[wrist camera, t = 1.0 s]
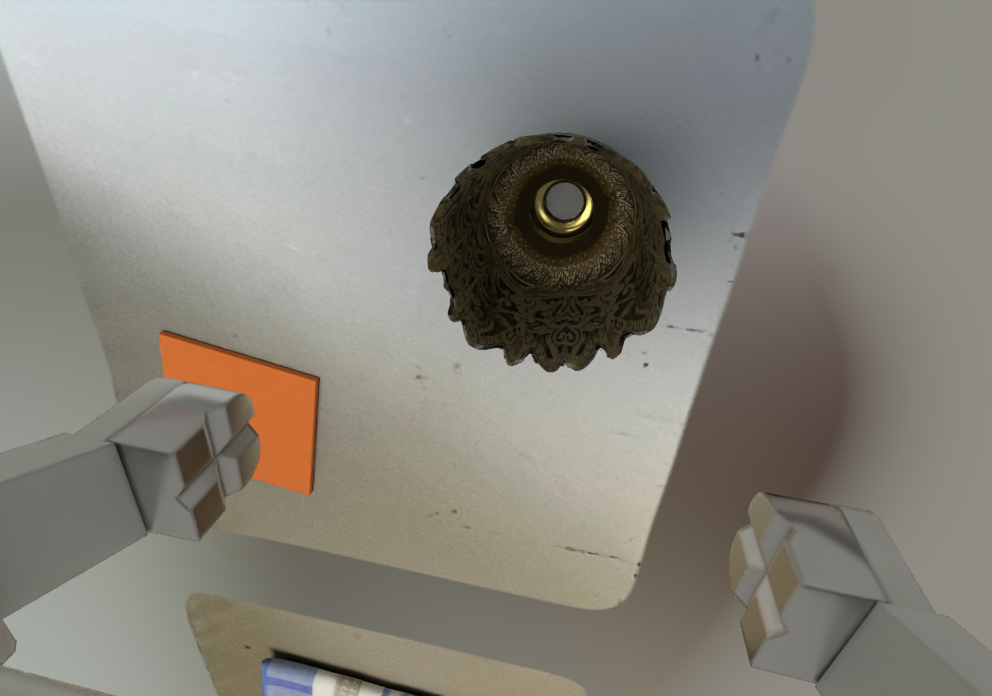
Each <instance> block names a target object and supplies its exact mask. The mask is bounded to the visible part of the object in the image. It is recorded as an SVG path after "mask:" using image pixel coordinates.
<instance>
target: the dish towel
mask: <svg viewBox="0 0 992 696" xmlns="http://www.w3.org/2000/svg"><path fill="white" fill-rule="evenodd" d="M261 669H262V680H263V696H416V695H413V694H409V693H405V692H401V691H396V690H393V689H389V688H386V687H382V686H378V685H375V684H372V683H368V682H365V681H363V680H359V679H355V678H352V677H349V676H346V675H341V674H336V673H332V672H329V671H325V670H322V669H320V668H316V667H312V666H308V665H305V664H301V663H297V662H293V661H288V660H284V659H277V658H267V659H265V660H263V661H262V662H261Z"/></svg>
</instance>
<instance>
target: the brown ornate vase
mask: <svg viewBox="0 0 992 696" xmlns="http://www.w3.org/2000/svg"><path fill="white" fill-rule="evenodd" d="M455 181H456V183H455V185H454V186H453V188H452V189H451V190H450V192H449V193H448V194H447V195H446V196H445V197H444V198H443V199H442V201H441V202H440V204H439V205H438V207H437V209H436V211H435V213H434V215H433V217H432V219H431V223H430V234H431V244H432V249H431V250H430V252H429V254H428V269H429V270H430V271H431V272H440V271H442V274H443V277H444V284H443V285H444V288H445V289H446V290H447V291H448V292H449V294H450V296H451V298H450V307H449V310H448V316H449V318H450V320H451V321H453V322H458V321H461V322H462V325H463V330H464V334H465V339H466V341H467V343H468V344H469V345H470V346H472V347H474V348H476V349H478V350H488V349H492V348H499V349H503V350H504V358H505V359H506V362H507V365H509V366H514V365H517V364H519V363H522V361H524V358H525V357H526V356H528V354H532V357H533V359H534V362H535V363H538V364H539V365H540V366H541V367H542V368H543V369H544V370H545V371H547V372H554V371H557V370H558V369H559V367H560V366H564V364H565V365H566V366H567V367H569V368H571V369H573V370H575V371H580V370H582V369H584V368H585V367H587V366H588V365H589V364H590V362H591V361H592V360H593V359H594V357H595V355H596V353H597V351H598V350H599V348H602V349H603V350H605V352H606V354H607V357H608V358H611V359H614V358H616V357H617V356H618V355H619V354H620V353H621V351H622V348H623V344H624V341H625V339H626V338H628V337H630V336H631V335H643V334H646V333H648V332H650V331H651V330H653V329H654V327H655V326H656V324H657V322H658V320H659V317H660V315H661V312H662V308H663V305H664V299H665V296H666V292H667V291H671V290H672V288H673V287H674V285H675V282H676V278H677V269H676V265H675V264H674V262H673V260H672V257H671V246H670V244H671V234H670V231H669V226H668V222H667V221H668V220H669V219H670V218H671V217H670V214H669V211H668V209H667V207H666V205H665V203H664V201H663V200H662V198H661V197H660V195H659V194H658V192H657V191H656V190H655V189H654V187H653V186H652V184H651V183H650V181H649V180H648V178H647V177H646V176H645V174H644V173H643V172H642V171H641V170H640V169H639V168H638V167H637V166H636V165H635V164H633V163H632V162H631V161H629V160H628V159H626V158H625V157H623V156H622V155H621V154H619V153H618V152H617V151H615V150H614V149H612V148H611V147H609V146H607V145H606V144H604V143H601V142H599V141H597V140H595V139H592V138H589V137H586V136H582V135H577V134H572V133H547V134H541V135H533V136H524V137H519V138H516V139H515V140H514V141H509V142H506V143H504V144H502V145H500V146H498V147H496V148H494V149H492V150H491V151H489V152H488V153H486V154H484V155H483V156H482V157H481V159H480V160H479V161H477V162H475V163H474V164H470V165H469V166H468V167H467V168H465V169H464V170H463V171H462V172H461V173H460V174H459V175H458V176H457V177H456V178H455ZM559 183H571V184H573V185H575V186H576V187H578V188H579V189H580V191H581V192H582V195H583V198H584V205H583V208H582V211H581V212H580V214H579V215H578V216H577V217H575V218H574V219H572V220H569V221H559V220H557V219H555V218H553V217H552V216H551V215H550V214H549V213H548V211H547V209H546V205H545V199H546V195H547V193H548V191H549V190H550V189H551V188H552V187H553V186H555V185H557V184H559Z"/></svg>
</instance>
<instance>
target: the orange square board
mask: <svg viewBox="0 0 992 696" xmlns="http://www.w3.org/2000/svg"><path fill="white" fill-rule="evenodd" d="M159 341H160V348H161V356H162V363H163V370H164V377H168V378H172V379H177V380H182V381H186V382H194V383H198V384H203V385H207V386H212V387H217V388H221V389H226V390H231V391H235V392H240V393H244V394H245V395H247V396H249V397H250V398H251V399H252V403H253V408H254V412H255V415H254V416H253V417H252V419H251V420H250V421H249V424H250V425H251V426H252V428H253V429H254V430H255V431H256V432H257V433H258V435H259V439H260V445H261V449H260V460H259V462H258V465H257V467H256V469H255V472H254V474H253V476H252V478H255V479H258V480H261V481H264V482H268V483H271V484H274V485H277V486H280V487H284V488H287V489H290V490H293V491H296V492H299V493H303V494H306V495H310V494H311V492H312V485H313V468H314V451H315V434H316V417H317V400H318V383H319V378H317V377H314V376H311V375H307V374H304V373H301V372H297V371H294V370H291V369H287V368H284V367H281V366H278V365H274V364H271V363H268V362H264V361H261V360H258V359H254V358H251V357H248V356H245V355H241V354H238V353H235V352H231V351H228V350H225V349H222V348H218V347H215V346H212V345H208V344H205V343H202V342H198V341H195V340H192V339H189V338H185V337H182V336H179V335H175V334H172V333H169V332H165V331H162V332H161V333H159Z"/></svg>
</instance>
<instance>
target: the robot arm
mask: <svg viewBox="0 0 992 696" xmlns="http://www.w3.org/2000/svg"><path fill="white" fill-rule="evenodd" d="M254 415H255V412H254V408H253V403H252V399H251V398H250V397H249V396H247V395H245V394H244V393H240V392H235V391H231V390H226V389H221V388H217V387H212V386H207V385H203V384H198V383H194V382H186V381H182V380H177V379H172V378H168V377H159V378H153V379H151V380H149V381H148V382H147V383H145V384H144V385H142V386H141V387H140V388H138V389H137V390H135V391H134V392H133V393H131V394H130V395H128V396H127V397H126V398H124V399H123V400H121V401H120V402H119V403H117V404H116V405H114V406H113V407H112V408H110V409H109V410H107V411H106V412H105V413H104V414H102V415H100V416H99V417H98V418H96V419H95V420H93V421H92V422H91V423H89V424H88V425H86V426H85V427H84V428H82V429H81V430H80V431H78V432H77V433H75V434H74V435H73V434H68V433H62V434H59V435H56V436H53V437H50V438H47V439H44V440H40V441H37V442H34V443H31V444H28V445H24V446H22V447H18V448H15V449H12V450H9V451H5V452H3V453H0V696H114V695H111V694H107V693H103V692H100V691H96V690H92V689H89V688H85V687H81V686H77V685H74V684H70V683H66V682H62V681H59V680H54V679H51V678H47V677H44V676H40V675H36V674H32V673H29V672H25V671H21V670H17V669H14V668H10V667H6V666H3V664H4V663H5V662H6V661H7V660H8V658H10V656H12V655H13V653H14V652H15V650H16V642H17V641H16V640H15V638H14V637H13V635H12V634H11V632H10V630H9V629H8V627H7V626H6V624H5V623H4V621H3V620H2V619H3V618H5V617H7V616H8V615H10V614H12V613H14V612H16V611H17V610H19V609H21V608H22V607H24V606H26V605H28V604H29V603H31V602H33V601H34V600H36V599H38V598H40V597H41V596H43V595H45V594H46V593H48V592H50V591H52V590H53V589H55V588H57V587H58V586H60V585H62V584H64V583H66V582H67V581H69V580H71V579H72V578H74V577H76V576H78V575H79V574H81V573H83V572H84V571H86V570H88V569H90V568H91V567H93V566H95V565H97V564H98V563H100V562H102V561H103V560H105V559H107V558H109V557H110V556H112V555H114V554H116V553H117V552H119V551H121V550H122V549H124V548H126V547H127V546H129V545H131V544H133V543H135V542H136V541H138V540H140V539H141V538H143V537H145V536H147V534H148V533H147V532H151V533H156V534H161V535H167V536H172V537H177V538H182V539H187V540H192V541H197V542H199V541H200V539H201V538H202V537H203V536H204V535H205V533H206V532H207V531H208V530H209V529H210V527H211V526H212V525H213V524H214V523H215V522H216V520H217V519H218V518H219V517H220V516H221V514H222V513H223V512H224V511H225V510H226V506H225V497H227V496H229V495H231V494H233V493H235V492H238V491H240V490H242V489H243V488H244V487H245V485H246V484H247V483H248V481H249V480H250V479H251V478H252V476H253V474H254V472H255V469H256V467H257V465H258V462H259V460H260V449H261V445H260V439H259V435H258V433H257V432H256V431H255V430H254V429H253V428H252V426H251V425H250V424H249V421H250V420H251V419H252V417H253V416H254ZM748 512H749V516H750V520H751V524H749V525H747V526H745V527H743V528H741V529H739V530H738V531H737V534H736V536H735V538H734V541H733V543H732V546H731V552H730V560H729V571H730V581H731V585H732V590H733V594H734V595H735V596H736V597H737V598H738V599H739V600H740V601H741V603H742V604H743V605H744V606H745V607H746V608H747V609H746V611H745V613H744V615H743V616H742V618H741V620H740V624H741V628H742V632H743V637H744V641H745V645H746V649H747V653H748V657H749V661H750V665H751V667H753V668H757V669H761V670H765V671H769V672H773V673H776V674H780V675H784V676H788V677H792V678H796V679H800V680H804V681H808V682H812V683H816V685H815V687H816V689H817V690H818V691H819V693H820V694H821V696H992V651H990V650H989V649H988V648H987V647H986V646H984V645H983V644H982V643H980V642H979V641H978V640H977V639H976V638H975V637H973V636H972V635H971V634H970V633H968V632H967V631H966V630H965V629H964V628H962V627H961V626H960V625H959V624H957V623H956V622H955V621H954V620H952V619H951V618H950V617H949V616H944V615H940V614H936V613H935V611H934V610H933V608H932V606H931V605H930V603H929V601H928V599H927V598H926V596H925V594H924V593H923V591H922V589H921V588H920V586H919V584H918V583H917V581H916V580H915V578H914V576H913V574H912V572H911V571H910V569H909V567H908V566H907V564H906V562H905V561H904V559H903V557H902V556H901V554H900V552H899V551H898V549H897V547H896V545H895V544H894V542H893V540H892V539H891V537H890V535H889V534H888V532H887V530H886V528H885V527H884V525H883V524H882V522H881V520H880V518H879V517H878V516H876V515H875V514H874V513H873V512H871V511H870V510H864V509H858V508H852V507H846V506H840V505H835V504H832V505H829V504H825V503H820V502H814V501H809V500H803V499H798V498H793V497H787V496H782V495H776V494H771V493H765V492H759V493H758V494H757V495H756V496H755V497H754V498H753V500H752V502H751V504H750V506H749V508H748Z"/></svg>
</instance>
